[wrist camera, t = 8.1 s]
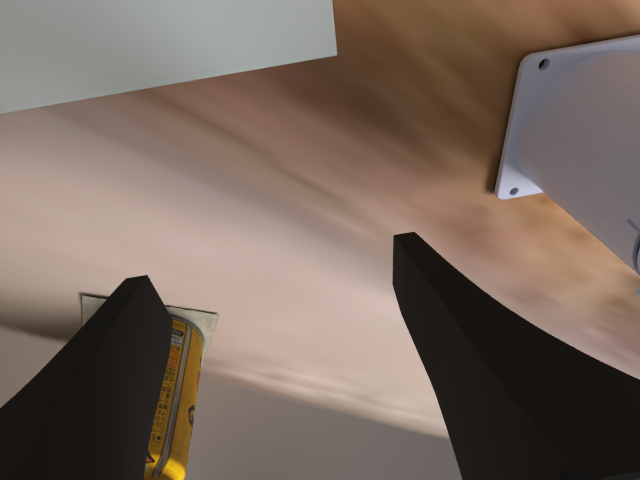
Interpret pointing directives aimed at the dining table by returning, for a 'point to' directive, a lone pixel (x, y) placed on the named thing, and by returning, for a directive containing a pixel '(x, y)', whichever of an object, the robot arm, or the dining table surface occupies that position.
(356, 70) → the dining table surface
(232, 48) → the socket
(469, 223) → the dining table surface
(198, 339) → the condiment
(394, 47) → the dining table surface
